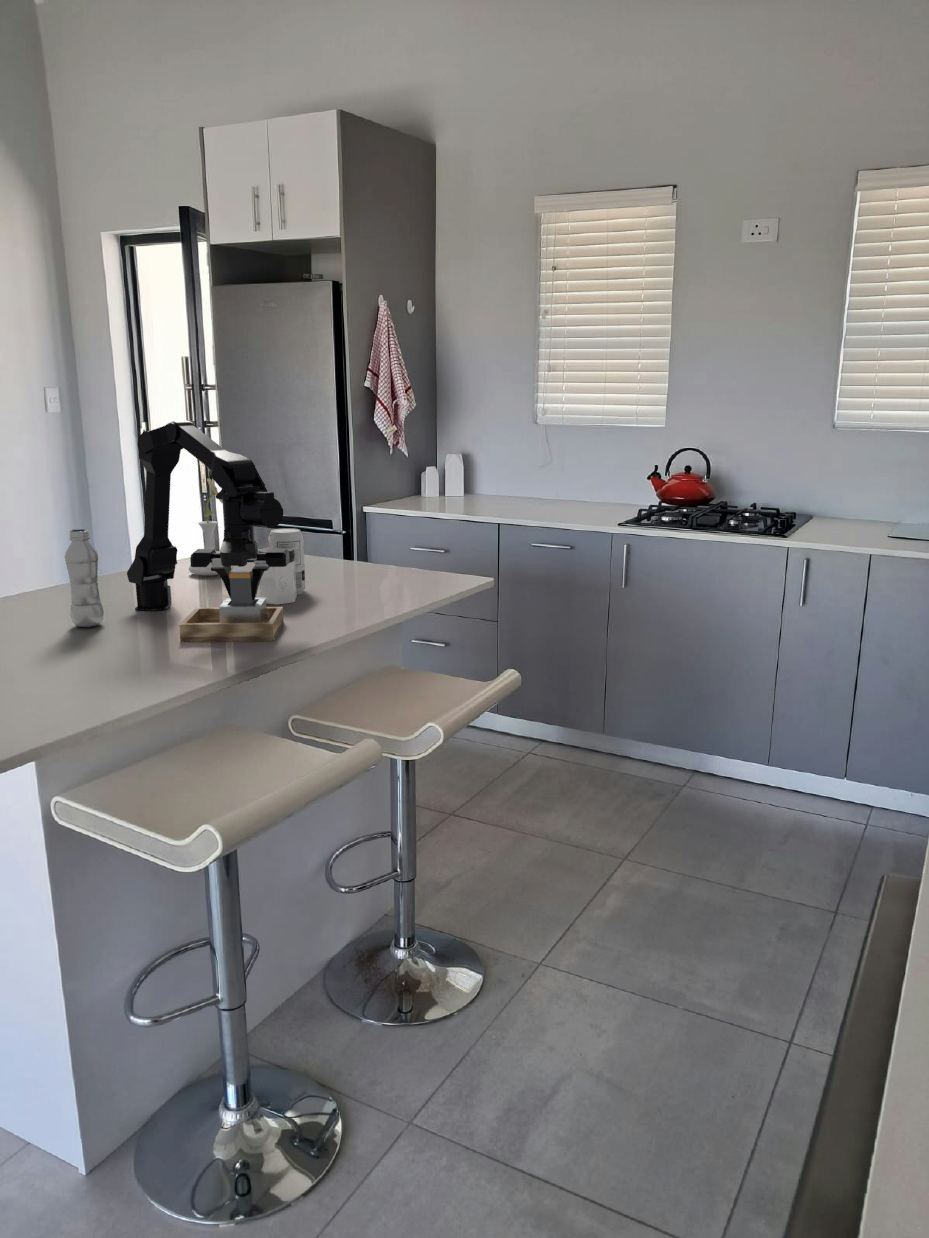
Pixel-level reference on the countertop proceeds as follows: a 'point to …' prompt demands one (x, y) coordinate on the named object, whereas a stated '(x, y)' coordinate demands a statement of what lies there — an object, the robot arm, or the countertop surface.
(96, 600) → the plastic bottle
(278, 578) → the jar
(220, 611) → the socket
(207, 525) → the flower in vase
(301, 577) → the supplement can
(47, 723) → the countertop surface
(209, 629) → the oak box
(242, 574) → the block
